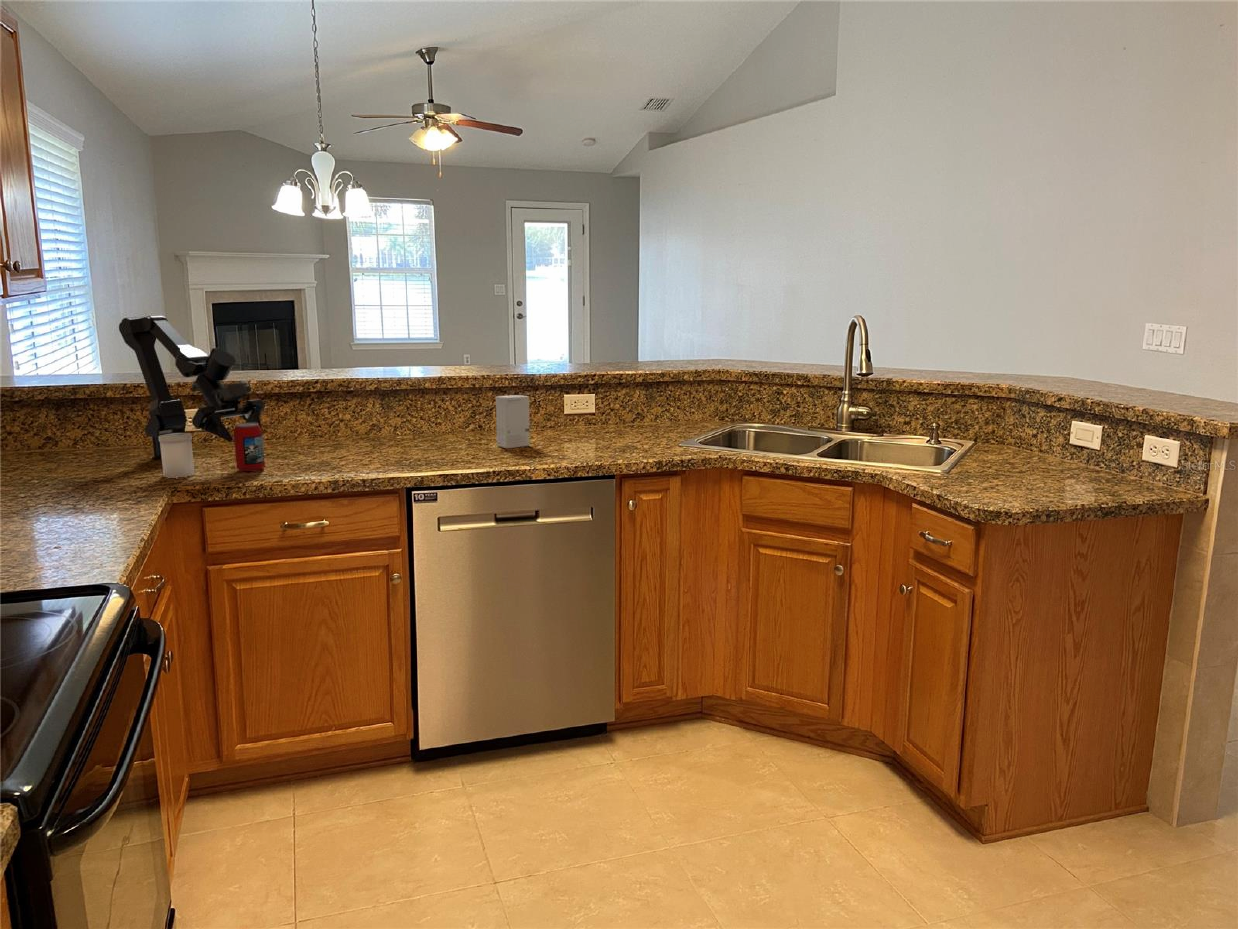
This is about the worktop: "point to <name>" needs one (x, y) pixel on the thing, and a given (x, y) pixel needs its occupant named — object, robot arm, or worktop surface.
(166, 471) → the sugar jar
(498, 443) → the skincare box
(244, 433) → the beverage can
